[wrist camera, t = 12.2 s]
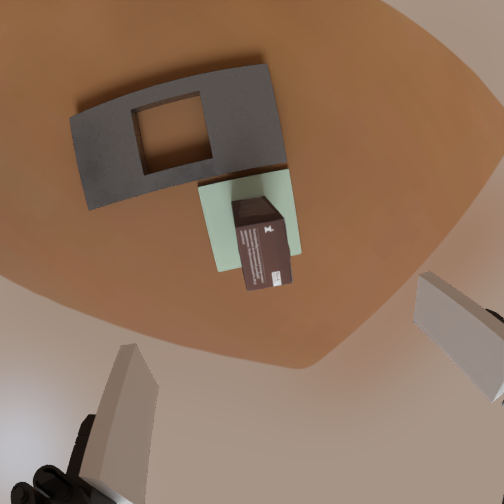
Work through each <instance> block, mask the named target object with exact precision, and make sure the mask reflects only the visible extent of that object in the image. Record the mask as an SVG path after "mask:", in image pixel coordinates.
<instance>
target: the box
mask: <svg viewBox="0 0 504 504" xmlns="http://www.w3.org/2000/svg"><path fill="white" fill-rule="evenodd" d="M231 206H232V212H233V218H234V224H235V231H236V237H237V244H238V251H239V255H240V260H241V265H242V271H243V275H244V280H245V284H246V288H247V291H252V290H258V289H263V288H268V287H273V286H279V285H285V284H291V283H292V282H293V278H292V270H291V263H290V258H291V253H290V247H289V244H288V238H287V230H286V223H285V218H284V217H283V216H282V215H281V213H280V212H279V211H278V210H277V209H276V208H275V207H274V205H273V204H272V203H271V202H270V201H269V200H268V199H267V198H266V196H257V197H252V198H247V199H241V200H235V201H231Z"/></svg>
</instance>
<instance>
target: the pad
mask: <svg viewBox="0 0 504 504" xmlns="http://www.w3.org/2000/svg"><path fill="white" fill-rule="evenodd" d="M198 191H199V195H200V199H201V204H202V208H203V212H204V216H205V221H206V225H207V229H208V233H209V237H210V241H211V245H212V249H213V253H214V257H215V261H216V265H217V269H218V272H221V271H226V270H230V269H235V268H239V267H242V265H241V260H240V255H239V251H238V244H237V237H236V231H235V224H234V218H233V212H232V206H231V201H235V200H241V199H247V198H252V197H257V196H266V198H267V199H268V200H269V201H270V202H271V203H272V204H273V205H274V207H275V208H276V209H277V210H278V211H279V212H280V213H281V215H282V216H283V217H284V218H285V223H286V230H287V238H288V244H289V247H290V253H291V256H293V255H297V254H301V245H300V238H299V231H298V224H297V217H296V211H295V204H294V198H293V192H292V186H291V180H290V174H289V169H283V170H277V171H272V172H266V173H261V174H256V175H251V176H246V177H241V178H236V179H231V180H227V181H222V182H217V183H213V184H208V185H204V186H200V187H198Z"/></svg>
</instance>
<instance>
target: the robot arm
mask: <svg viewBox="0 0 504 504" xmlns="http://www.w3.org/2000/svg"><path fill="white" fill-rule="evenodd" d="M413 322H414V323H415V324H416V325H417V326H418V327H419V328H420V329H421V330H422V331H423V332H424V333H425V334H426V335H427V336H428V337H429V338H430V339H431V340H432V341H433V342H435V344H436V345H437V346H438V347H439V348H440V349H441V350H442V351H443V352H444V353H445V354H446V355H447V356H448V357H449V358H450V359H451V360H452V361H453V362H454V363H455V364H456V365H457V366H458V367H459V368H460V369H461V370H462V371H463V373H465V375H466V376H467V377H468V378H469V379H470V380H471V381H472V382H473V383H474V384H475V386H476V387H477V388H478V389H479V390H480V391H481V392H482V393H483V394H484V395H485V397H486V398H487V399H488V400H489V401H490V402H491V403H492V402H494V401H495V400H496V399H497V398H499V397H500V396H501V395H502V394H503V392H504V318H503V317H501V316H500V315H499V314H497V313H496V312H494V311H491V310H489V309H484V308H482V307H481V306H480V305H478V304H477V303H476V302H474V301H473V300H471V299H470V298H469V297H467V296H466V295H464V294H463V293H462V292H460V291H459V290H457V289H456V288H454V287H453V286H452V285H450V284H449V283H447V282H445V281H444V280H443V279H441V278H440V277H438V276H437V275H435V274H434V273H432V272H431V271H428V272H425V273H423V274H420V275H418V287H417V296H416V305H415V312H414V319H413ZM158 389H159V386H158V384H157V383H156V381H155V379H154V377H153V375H152V373H151V372H150V370H149V368H148V366H147V364H146V362H145V360H144V358H143V356H142V354H141V352H140V350H139V348H138V346H137V344H129V345H122V346H121V347H120V350H119V352H118V355H117V357H116V360H115V362H114V365H113V368H112V370H111V373H110V376H109V379H108V381H107V384H106V387H105V390H104V393H103V395H102V399H101V401H100V404H99V407H98V411H97V413H96V415H93V414H89V415H88V416H87V418H86V419H85V420H84V421H83V422H82V424H81V426H80V429H79V432H78V437H77V439H76V442H75V444H76V445H74V448H73V451H72V455H71V458H70V461H69V465H68V469H67V472H66V474H64V473H63V472H62V471H61V470H60V469H58V468H57V467H55V466H53V465H45V466H42V467H41V468H39V469H38V470H37V471H36V473H35V475H34V478H33V487H34V488H33V487H32V486H31V485H29V484H28V483H26V482H19V483H17V484H16V485H15V486H14V487H13V489H12V491H11V504H117V503H118V504H145V494H146V482H147V471H148V461H149V453H150V445H151V437H152V429H153V422H154V414H155V408H156V402H157V395H158ZM502 406H504V400H503V402H502ZM502 504H504V497H503V502H502Z"/></svg>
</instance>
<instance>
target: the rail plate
mask: <svg viewBox="0 0 504 504" xmlns="http://www.w3.org/2000/svg"><path fill="white" fill-rule="evenodd" d="M199 95H200V96H201V101H202V106H203V111H204V116H205V121H206V126H207V131H208V136H209V141H210V146H211V151H212V155H213V158H211V159H207V160H202V161H198V162H194V163H190V164H186V165H182V166H178V167H174V168H170V169H166V170H163V171H159V172H155V173H152V174H149V172H148V168H147V163H146V159H145V154H144V149H143V144H142V140H141V135H140V129H139V124H138V119H137V112H140V111H143V110H146V109H149V108H153V107H156V106H160V105H163V104H167V103H171V102H174V101H178V100H182V99H186V98H190V97H195V96H199ZM70 125H71V132H72V138H73V143H74V149H75V154H76V159H77V164H78V169H79V173H80V177H81V182H82V186H83V190H84V194H85V198H86V202H87V205H88V209H89V211H90V210H93V209H96V208H99V207H102V206H105V205H108V204H112V203H115V202H118V201H121V200H125V199H128V198H131V197H135V196H138V195H142V194H145V193H149V192H153V191H156V190H160V189H164V188H167V187H171V186H175V185H179V184H183V183H187V182H191V181H195V180H200V179H204V178H208V177H213V176H217V175H222V174H226V173H231V172H236V171H241V170H246V169H251V168H256V167H262V166H267V165H273V164H278V163H284V162H287V159H286V153H285V148H284V142H283V137H282V132H281V126H280V121H279V116H278V111H277V106H276V101H275V97H274V92H273V87H272V83H271V78H270V74H269V69H268V65H267V64H258V65H250V66H243V67H236V68H230V69H224V70H219V71H213V72H208V73H203V74H198V75H194V76H190V77H185V78H181V79H177V80H173V81H170V82H166V83H162V84H159V85H155V86H152V87H148V88H145V89H142V90H139V91H136V92H133V93H130V94H127V95H124V96H121V97H118V98H116V99H113V100H110V101H108V102H105V103H103V104H100V105H98V106H95V107H93V108H90V109H88V110H86V111H83V112H81V113H79V114H77V115H74V116H72V117H70Z"/></svg>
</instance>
